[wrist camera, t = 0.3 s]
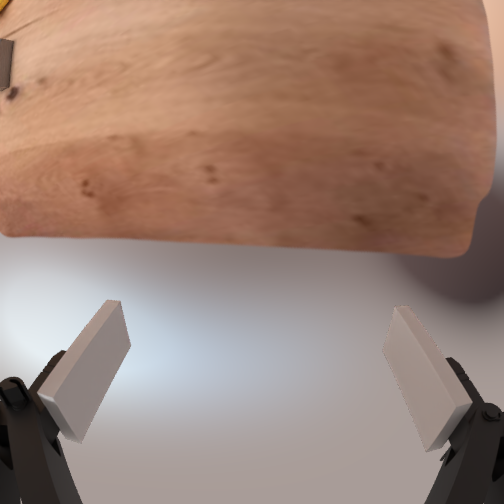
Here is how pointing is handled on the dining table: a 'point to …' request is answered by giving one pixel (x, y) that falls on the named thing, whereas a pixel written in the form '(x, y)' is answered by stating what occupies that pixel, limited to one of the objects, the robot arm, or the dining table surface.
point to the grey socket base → (5, 62)
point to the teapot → (3, 3)
